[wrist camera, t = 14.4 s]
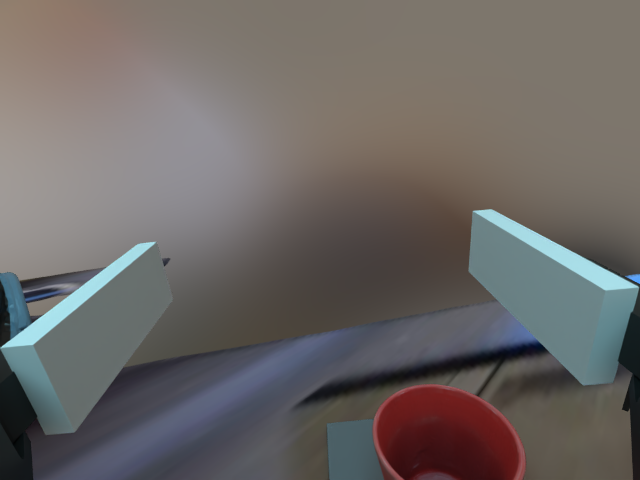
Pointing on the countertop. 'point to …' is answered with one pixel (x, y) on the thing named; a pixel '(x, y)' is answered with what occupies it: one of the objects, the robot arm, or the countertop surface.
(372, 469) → the slate coaster
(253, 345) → the countertop surface
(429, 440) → the flower pot
